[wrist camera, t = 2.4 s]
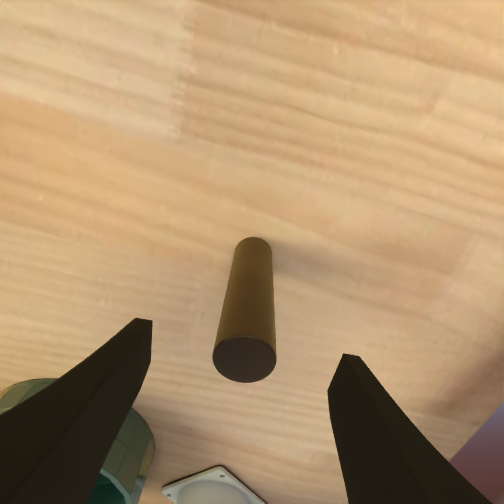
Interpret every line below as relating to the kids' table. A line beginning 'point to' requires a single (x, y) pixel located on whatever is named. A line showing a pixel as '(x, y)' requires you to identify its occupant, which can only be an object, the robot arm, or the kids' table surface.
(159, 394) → the kids' table surface
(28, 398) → the robot arm
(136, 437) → the bowl
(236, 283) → the dark brown cylinder
